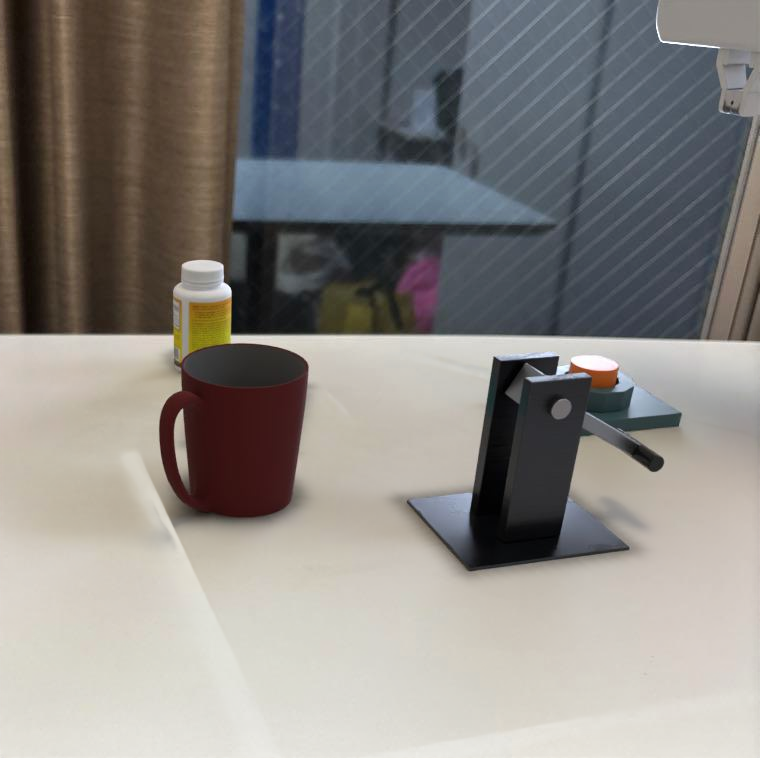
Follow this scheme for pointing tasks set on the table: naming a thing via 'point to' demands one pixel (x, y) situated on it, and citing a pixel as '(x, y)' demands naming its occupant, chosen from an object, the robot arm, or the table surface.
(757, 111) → the robot arm
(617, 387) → the button housing
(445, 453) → the table surface
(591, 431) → the switch lever
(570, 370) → the button
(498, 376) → the switch bracket
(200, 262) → the supplement bottle
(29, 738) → the table surface
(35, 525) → the table surface
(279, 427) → the mug
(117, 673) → the table surface
